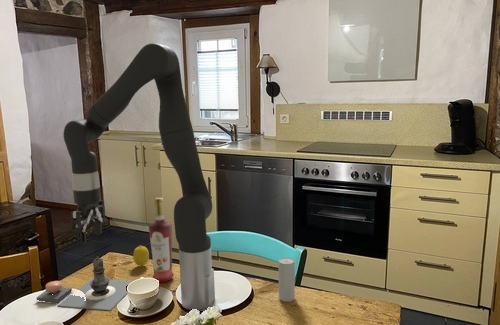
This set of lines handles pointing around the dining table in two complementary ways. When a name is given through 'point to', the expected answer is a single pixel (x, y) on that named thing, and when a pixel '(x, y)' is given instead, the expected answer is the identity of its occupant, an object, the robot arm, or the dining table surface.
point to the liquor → (161, 244)
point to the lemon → (141, 255)
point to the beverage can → (286, 279)
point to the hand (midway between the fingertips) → (90, 238)
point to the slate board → (101, 302)
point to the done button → (53, 286)
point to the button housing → (54, 298)
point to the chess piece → (99, 279)
